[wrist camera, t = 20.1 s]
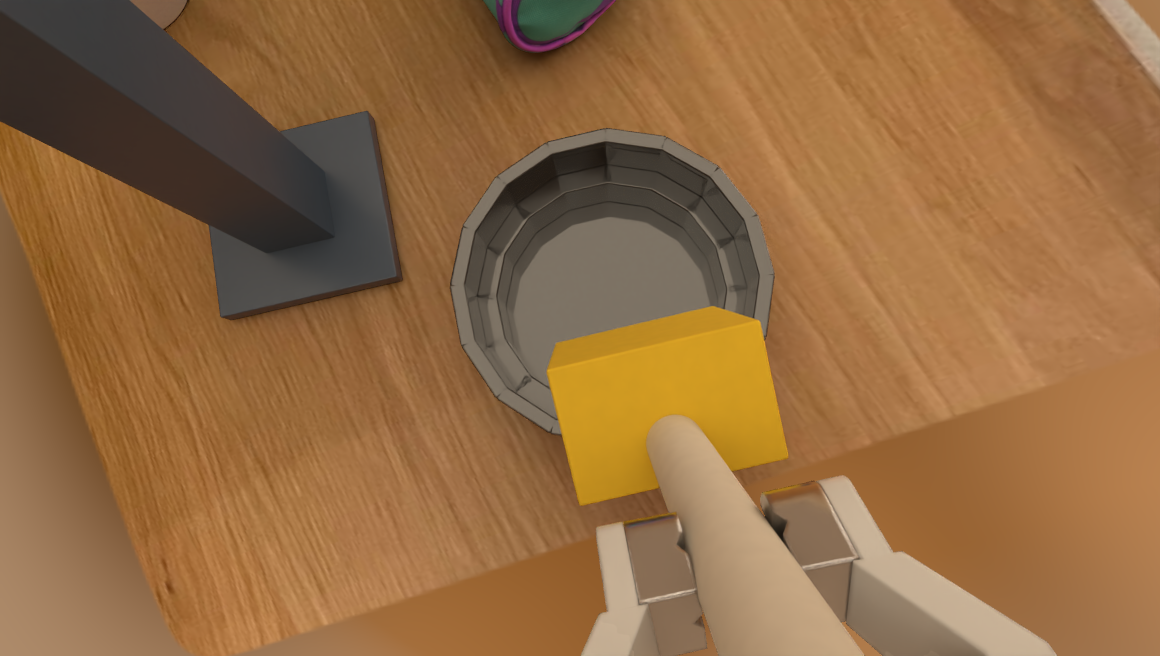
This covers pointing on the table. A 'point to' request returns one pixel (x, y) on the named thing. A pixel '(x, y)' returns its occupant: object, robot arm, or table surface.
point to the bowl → (598, 254)
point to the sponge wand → (696, 465)
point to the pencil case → (545, 21)
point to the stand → (202, 151)
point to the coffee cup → (161, 10)
